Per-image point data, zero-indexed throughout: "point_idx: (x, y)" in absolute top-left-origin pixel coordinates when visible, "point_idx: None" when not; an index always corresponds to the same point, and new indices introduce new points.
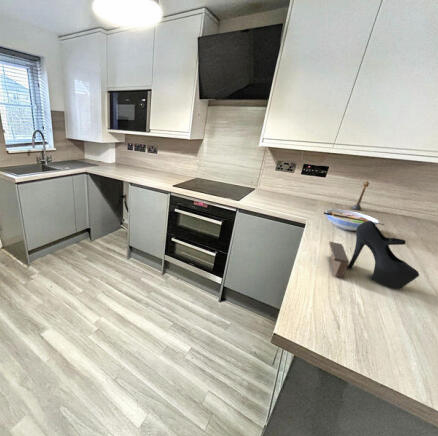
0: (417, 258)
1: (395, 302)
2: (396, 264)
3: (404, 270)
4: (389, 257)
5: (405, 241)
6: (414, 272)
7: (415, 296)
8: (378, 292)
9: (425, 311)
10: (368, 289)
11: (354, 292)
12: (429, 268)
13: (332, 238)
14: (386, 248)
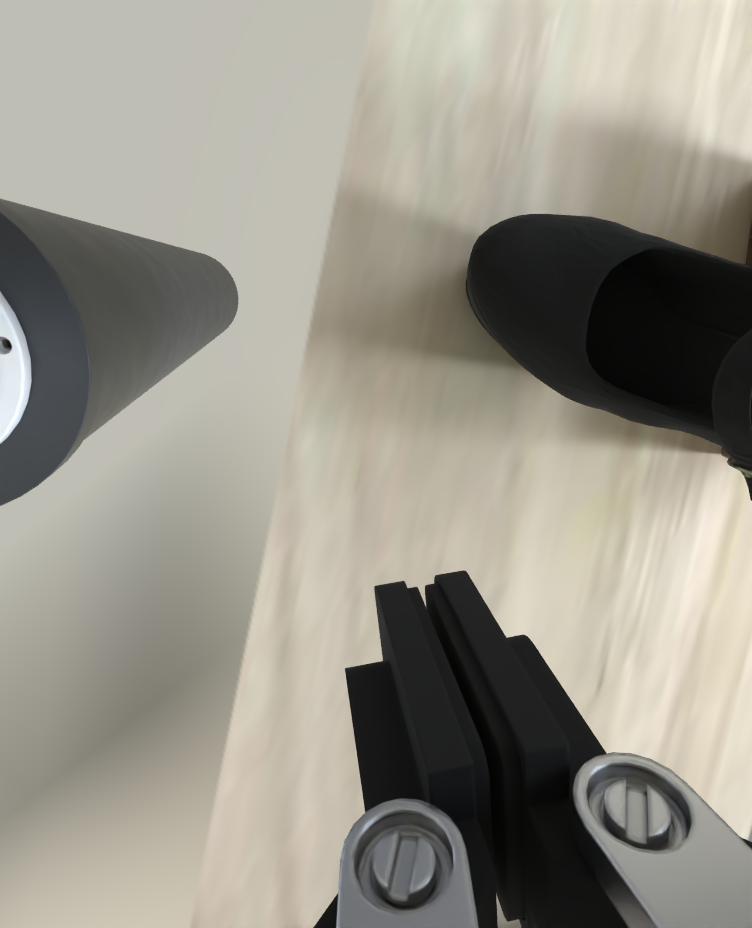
0: (278, 815)
1: (534, 51)
2: (641, 234)
3: (576, 218)
4: (712, 257)
5: (750, 371)
6: (519, 227)
7: (404, 242)
8: (595, 129)
9: (399, 53)
10: (642, 129)
11: (735, 9)
12: (247, 721)
13: (662, 758)
14: (704, 418)
